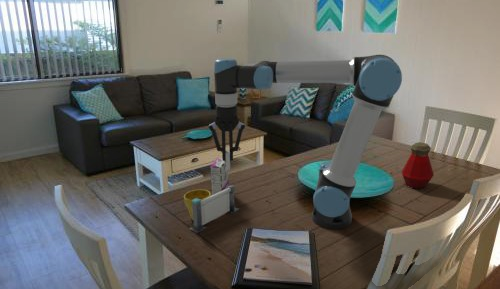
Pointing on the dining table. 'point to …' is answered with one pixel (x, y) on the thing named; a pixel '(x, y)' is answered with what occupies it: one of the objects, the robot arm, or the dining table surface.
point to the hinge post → (232, 203)
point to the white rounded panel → (215, 205)
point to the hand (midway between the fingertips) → (228, 168)
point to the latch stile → (197, 216)
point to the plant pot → (192, 195)
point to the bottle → (418, 166)
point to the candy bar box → (219, 176)
